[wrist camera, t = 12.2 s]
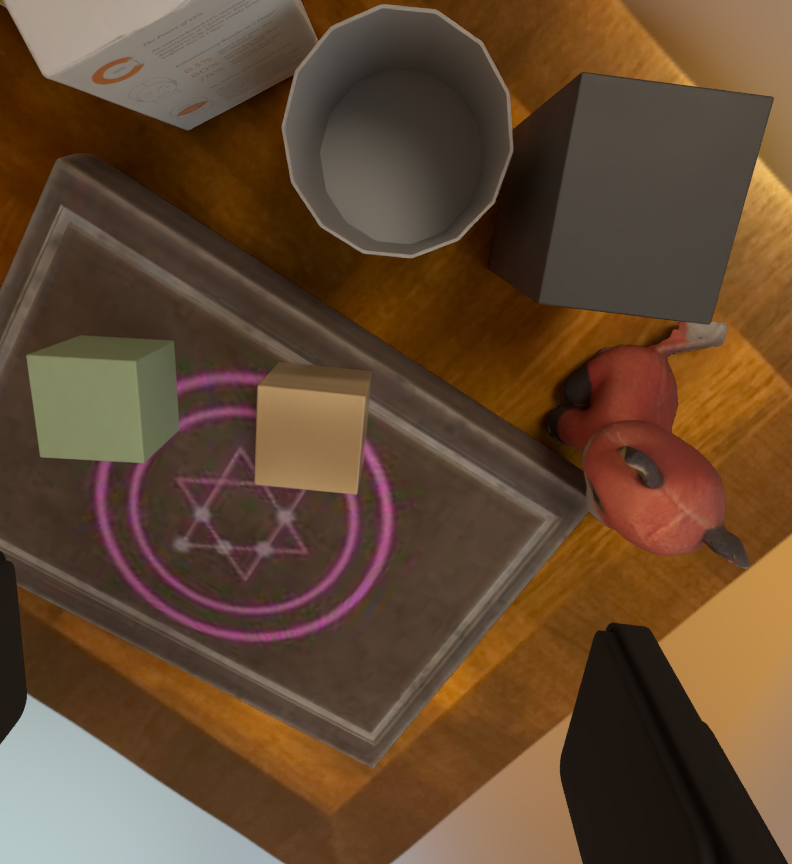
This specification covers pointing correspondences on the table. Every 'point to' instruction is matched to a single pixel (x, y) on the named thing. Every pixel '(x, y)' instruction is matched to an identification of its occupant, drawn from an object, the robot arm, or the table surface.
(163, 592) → the book
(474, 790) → the table surface
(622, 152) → the stand
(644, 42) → the table surface
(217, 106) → the small box
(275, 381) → the birch block
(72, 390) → the sage block
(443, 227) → the cup
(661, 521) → the stuffed fox
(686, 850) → the robot arm
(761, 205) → the table surface
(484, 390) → the table surface
